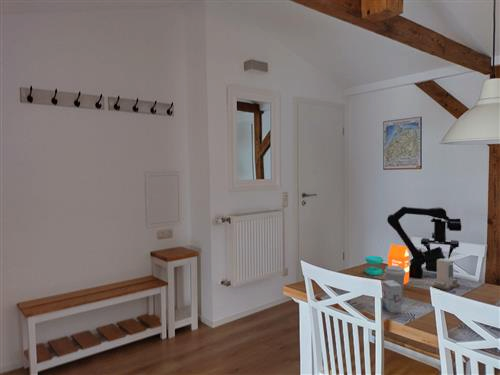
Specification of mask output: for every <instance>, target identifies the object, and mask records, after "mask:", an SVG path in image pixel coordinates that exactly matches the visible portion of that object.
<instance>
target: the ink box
mask: <svg viewBox="0 0 500 375" xmlns="http://www.w3.org/2000/svg"><path fill="white" fill-rule="evenodd" d="M383 292H384V296H383V295H382V307H383V308H384V309H386V310H387V311H388V312H390V313H391V314H392V313H398V314H399V313H402V301H401V285H400V284H398V283H397V282H395V281H394V280H387V281H386V280H382V293H383Z"/></svg>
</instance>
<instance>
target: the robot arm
mask: <svg viewBox="0 0 500 375" xmlns="http://www.w3.org/2000/svg"><path fill="white" fill-rule="evenodd" d="M406 214H408V215H419V216H427V217H432V219H430V222H431V223H433V231H434V232H432V233H431V239H430V238H426V237H425V238H424V237H422V238H421V239H420V245H423V247H425V248H426V251H428V253H429V256H430V257H431V244H433V245H434V244H435V245H445V246H449V250H448V255H447V256H448V259H447V260H450V257H451V256H452V252H453V251H454V250H455V249H457V248H459V247H460V241H458V240H453V239H452V240H450V241H448V240H447V237H446V235H447V234H446V233H447V232H446V231H447V230H448V231H453V232H461V231H462V222H461V218H450V217H449V216H448V215H447V211H446V210H445V208H443V207H439V206H438V207H431V208H426V207H425V208H423V207H411V206H410V207H409V206H402V207H400V209H398V210H397V211H395V212H394V213H391V214H389V215H388V216H387V219H386V222H387V224H388V225H389V226H390V227H391V228H392V229H393V230H394V231H396V233H397V234H398V235H399V237H400V238H401V240H402V242H403V243H404V244H405V246H407V249H408V251H409V252H410V254H411V257H412V258H411V259H409V278H412V279H413V278H414V279H421V280H422V279H423V278H422V277H424V276H423V275H424V269H423V267H422V266H423V265H425V264H426V263H425V254H423V253H422V252H423V251H422V249H421V248H419V249H418V248H417V247H416V246H415V244H414V243H413V242H412V240H411V238H410V237H409V235H408V234H407V233H406V231H405V230H404V229H403V227H402V225H401V222H400V219H402V217H404V216H405V215H406ZM442 219H443V220H442ZM446 229H447V230H446ZM432 239H433V240H432ZM446 240H447V241H446Z"/></svg>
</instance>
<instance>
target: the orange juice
mask: <svg viewBox="0 0 500 375" xmlns="http://www.w3.org/2000/svg"><path fill="white" fill-rule="evenodd" d="M387 266H399V267H402V268H404V270H405V272H406V274H405V276H404V285H406V284H407V283H409V282H410V277H409V266H410V254H409V249H408V247H407V246H406V245H399V244H398V245H397V244H390V248H389V251H388V255H387Z"/></svg>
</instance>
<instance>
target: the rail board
mask: <svg viewBox="0 0 500 375" xmlns="http://www.w3.org/2000/svg"><path fill="white" fill-rule="evenodd" d="M458 282H459V280H458V279H457V278H454V277H453V286H449V287H446V283H444V282H440V281H437V280H434V281H433V285H431V288H432V287H434V288H437V289H440V290H439V291H441V290H443V291H442V292H445V291H446V292H448V291H451V290H454V289H456V288H460V284H459V283H458ZM437 289H436V290H437Z"/></svg>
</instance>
